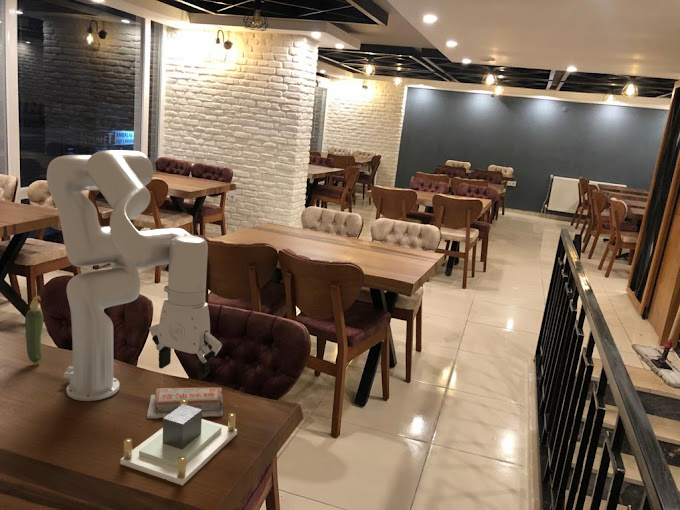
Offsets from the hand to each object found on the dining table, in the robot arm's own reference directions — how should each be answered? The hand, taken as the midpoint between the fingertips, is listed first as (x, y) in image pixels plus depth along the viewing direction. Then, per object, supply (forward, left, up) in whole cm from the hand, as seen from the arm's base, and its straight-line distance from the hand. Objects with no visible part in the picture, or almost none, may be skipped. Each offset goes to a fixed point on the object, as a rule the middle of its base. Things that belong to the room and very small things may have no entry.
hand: (183, 371), depth 118 cm
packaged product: (-9, +15, -19) cm, 26 cm away
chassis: (0, 0, -18) cm, 18 cm away
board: (0, 0, -17) cm, 17 cm away
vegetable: (-59, +15, -19) cm, 63 cm away
